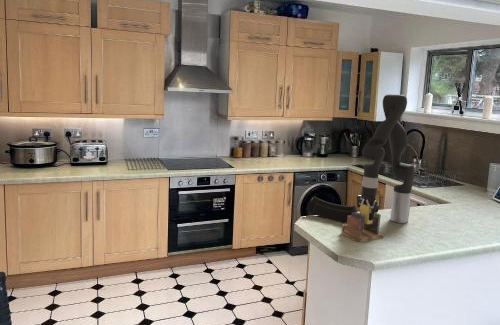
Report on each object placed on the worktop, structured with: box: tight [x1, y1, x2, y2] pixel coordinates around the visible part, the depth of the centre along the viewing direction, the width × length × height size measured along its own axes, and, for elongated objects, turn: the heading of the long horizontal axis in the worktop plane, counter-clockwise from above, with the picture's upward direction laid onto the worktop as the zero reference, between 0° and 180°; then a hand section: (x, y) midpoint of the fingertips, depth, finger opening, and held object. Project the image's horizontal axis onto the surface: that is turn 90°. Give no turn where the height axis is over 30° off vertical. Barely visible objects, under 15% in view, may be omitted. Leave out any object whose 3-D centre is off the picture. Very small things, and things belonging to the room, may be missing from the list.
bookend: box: [365, 212, 382, 234], centre depth 212 cm, size 1×8×10 cm, turn 30°
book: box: [359, 204, 373, 224], centre depth 208 cm, size 4×6×9 cm, turn 30°
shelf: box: [340, 211, 384, 243], centre depth 209 cm, size 17×12×12 cm
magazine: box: [305, 196, 358, 224], centre depth 233 cm, size 17×3×30 cm
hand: (366, 218), depth 209 cm, fingers closed on book, 5 cm apart
